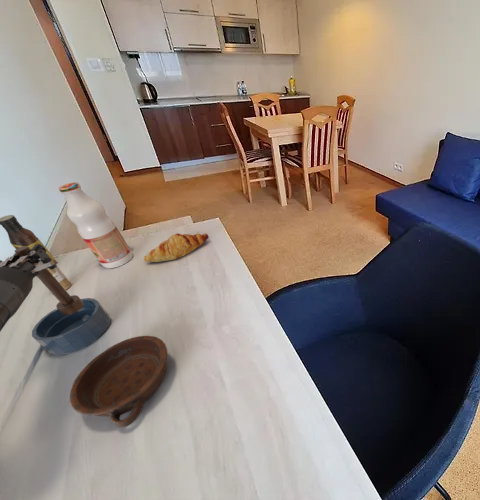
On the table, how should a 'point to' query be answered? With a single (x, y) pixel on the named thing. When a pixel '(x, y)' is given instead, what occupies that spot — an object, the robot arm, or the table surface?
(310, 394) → the table surface
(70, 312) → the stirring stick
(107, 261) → the fruit juice
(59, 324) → the bowl
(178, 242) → the croissant
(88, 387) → the dish
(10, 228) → the sauce bottle
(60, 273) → the sprinkles bottle
